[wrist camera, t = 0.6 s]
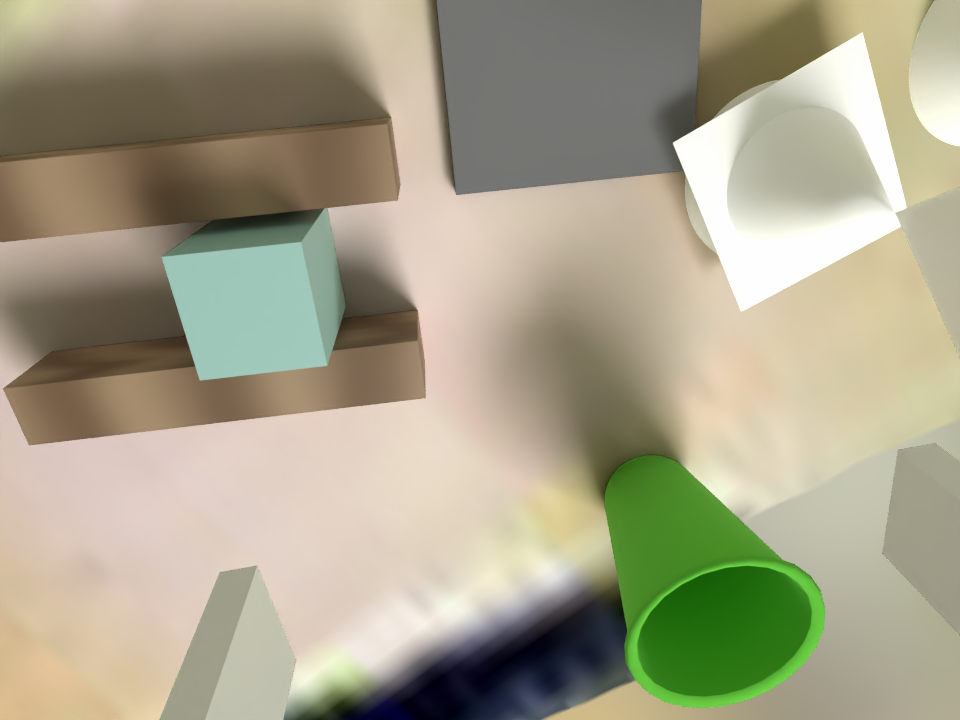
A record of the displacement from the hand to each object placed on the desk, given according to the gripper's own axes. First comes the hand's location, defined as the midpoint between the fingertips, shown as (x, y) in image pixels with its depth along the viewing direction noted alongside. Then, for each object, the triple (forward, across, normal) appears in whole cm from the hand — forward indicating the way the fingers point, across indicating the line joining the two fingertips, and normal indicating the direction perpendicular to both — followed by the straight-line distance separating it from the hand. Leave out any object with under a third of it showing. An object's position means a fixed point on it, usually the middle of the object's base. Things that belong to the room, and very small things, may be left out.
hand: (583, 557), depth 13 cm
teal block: (+20, -10, +2) cm, 22 cm away
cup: (+20, +7, -15) cm, 26 cm away
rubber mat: (+20, +5, +9) cm, 23 cm away
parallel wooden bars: (+20, -13, +3) cm, 24 cm away
